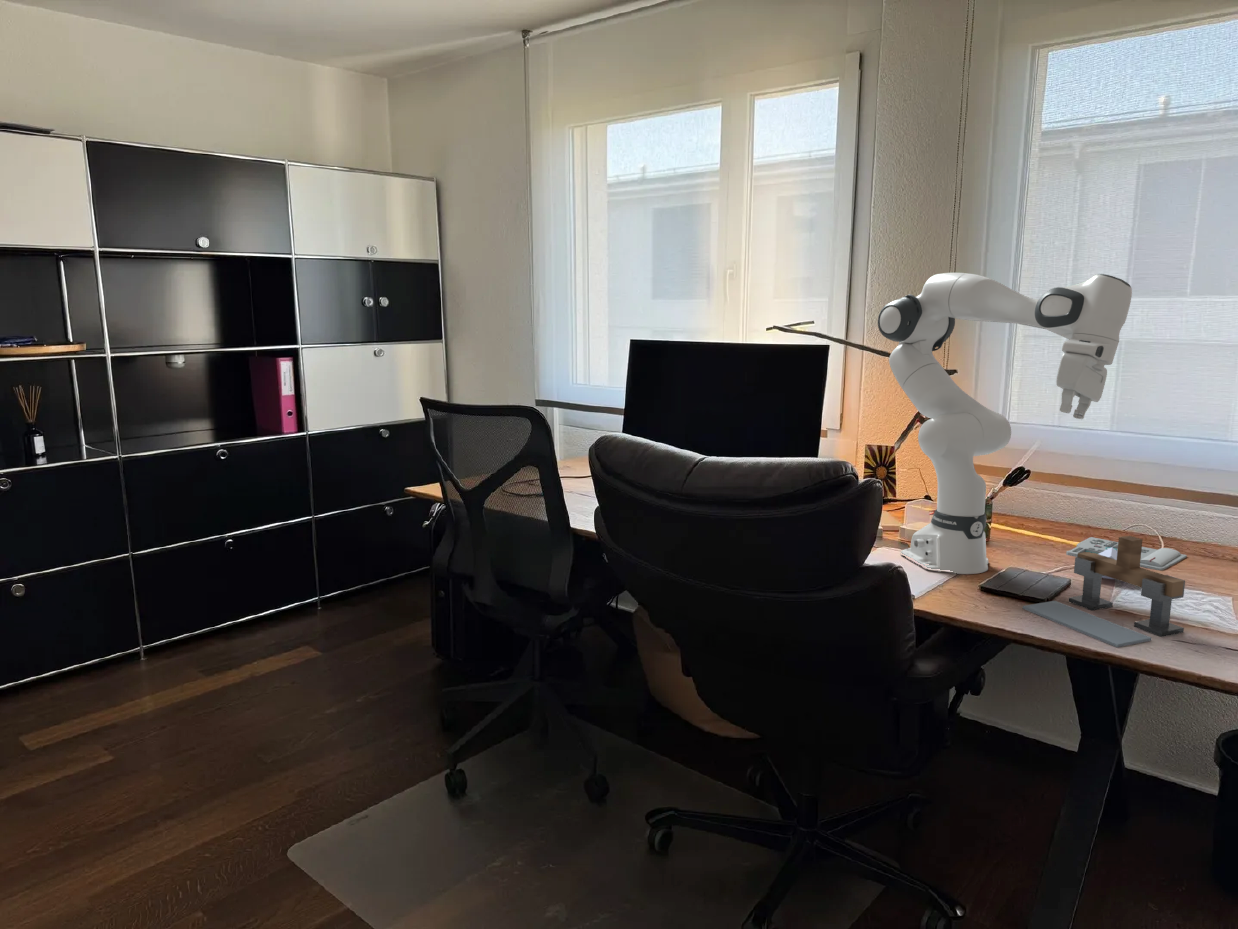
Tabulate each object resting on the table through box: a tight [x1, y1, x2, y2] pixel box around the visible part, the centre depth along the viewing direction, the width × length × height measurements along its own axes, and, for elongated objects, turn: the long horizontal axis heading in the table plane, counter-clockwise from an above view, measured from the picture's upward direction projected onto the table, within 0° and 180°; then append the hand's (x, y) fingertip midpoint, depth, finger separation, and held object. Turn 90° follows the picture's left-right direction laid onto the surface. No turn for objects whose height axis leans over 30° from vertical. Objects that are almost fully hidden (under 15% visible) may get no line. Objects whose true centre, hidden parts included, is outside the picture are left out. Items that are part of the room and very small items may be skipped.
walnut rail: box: [1077, 535, 1184, 597], centre depth 176 cm, size 22×3×9 cm, turn 20°
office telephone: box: [1066, 536, 1188, 571], centre depth 220 cm, size 23×3×20 cm
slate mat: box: [1022, 600, 1152, 648], centre depth 174 cm, size 23×9×1 cm, turn 20°
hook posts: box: [1068, 554, 1186, 638], centre depth 177 cm, size 22×7×10 cm, turn 20°
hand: (1071, 415), depth 180 cm, fingers open, 8 cm apart
